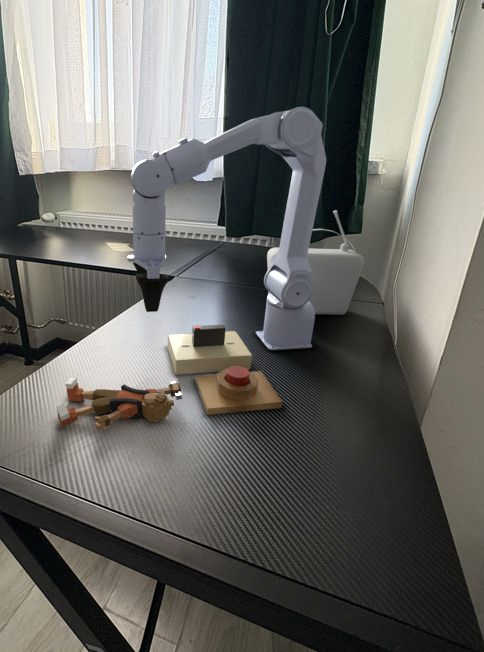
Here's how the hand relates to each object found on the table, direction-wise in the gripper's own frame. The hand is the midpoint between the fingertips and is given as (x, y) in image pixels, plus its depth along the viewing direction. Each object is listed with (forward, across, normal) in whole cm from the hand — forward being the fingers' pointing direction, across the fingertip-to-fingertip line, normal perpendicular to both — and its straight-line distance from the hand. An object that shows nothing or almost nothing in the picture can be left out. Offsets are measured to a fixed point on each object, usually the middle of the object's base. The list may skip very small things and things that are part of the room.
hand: (149, 303), depth 72 cm
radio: (+10, -16, +42) cm, 46 cm away
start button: (+7, +17, +13) cm, 22 cm away
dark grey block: (+7, +5, +11) cm, 14 cm away
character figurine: (+10, +19, -6) cm, 22 cm away
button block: (+10, +17, +13) cm, 23 cm away
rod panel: (+10, +5, +11) cm, 15 cm away
